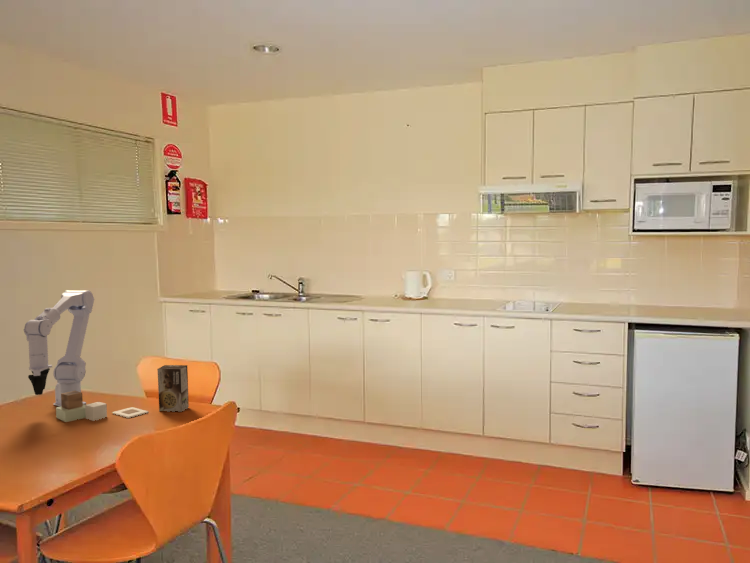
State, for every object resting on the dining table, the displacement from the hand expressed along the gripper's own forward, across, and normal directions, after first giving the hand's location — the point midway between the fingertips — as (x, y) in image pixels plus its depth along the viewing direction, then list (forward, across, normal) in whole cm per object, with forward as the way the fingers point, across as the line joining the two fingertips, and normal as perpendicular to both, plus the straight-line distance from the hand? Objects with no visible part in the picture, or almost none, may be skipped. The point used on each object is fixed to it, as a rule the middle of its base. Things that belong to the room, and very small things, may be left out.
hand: (40, 391), depth 208 cm
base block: (+10, -3, -10) cm, 14 cm away
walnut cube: (+6, -3, -10) cm, 12 cm away
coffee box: (+10, -8, -44) cm, 46 cm away
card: (+9, -7, -29) cm, 31 cm away
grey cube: (+10, -8, -18) cm, 22 cm away
